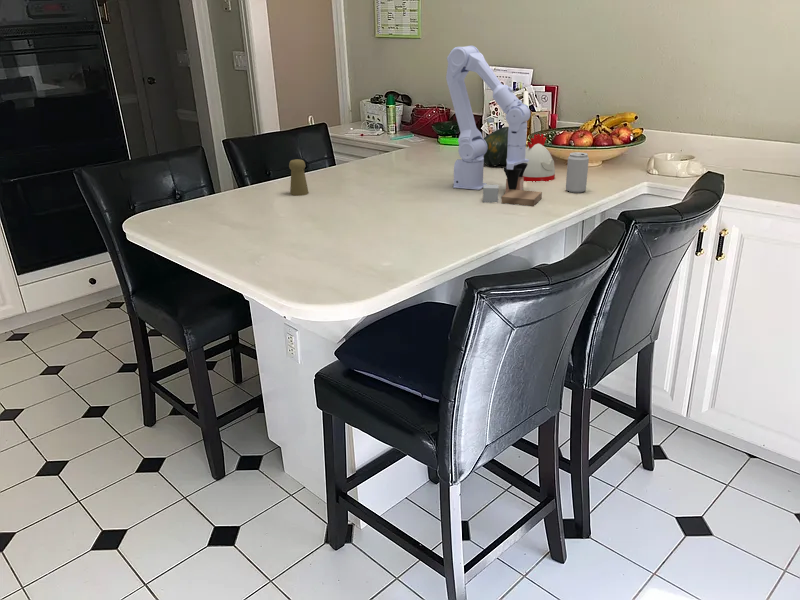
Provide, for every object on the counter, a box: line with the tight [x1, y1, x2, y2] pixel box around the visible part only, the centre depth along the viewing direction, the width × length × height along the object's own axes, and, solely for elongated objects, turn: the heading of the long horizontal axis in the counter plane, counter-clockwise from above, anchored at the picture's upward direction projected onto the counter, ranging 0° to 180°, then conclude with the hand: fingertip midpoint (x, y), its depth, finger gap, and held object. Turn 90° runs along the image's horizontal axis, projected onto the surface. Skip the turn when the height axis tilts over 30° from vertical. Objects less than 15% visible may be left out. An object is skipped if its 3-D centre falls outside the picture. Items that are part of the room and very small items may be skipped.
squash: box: [483, 126, 509, 167], centre depth 248 cm, size 14×15×15 cm
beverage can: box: [565, 151, 590, 194], centre depth 208 cm, size 6×6×12 cm
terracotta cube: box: [505, 177, 525, 193], centre depth 210 cm, size 4×4×4 cm
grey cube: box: [482, 184, 499, 203], centre depth 201 cm, size 4×4×4 cm
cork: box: [288, 158, 310, 197], centre depth 212 cm, size 6×6×11 cm
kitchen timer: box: [523, 133, 556, 183], centre depth 227 cm, size 14×14×15 cm
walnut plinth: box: [500, 189, 543, 207], centre depth 200 cm, size 10×10×2 cm
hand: (514, 187), depth 210 cm, fingers closed on terracotta cube, 4 cm apart
